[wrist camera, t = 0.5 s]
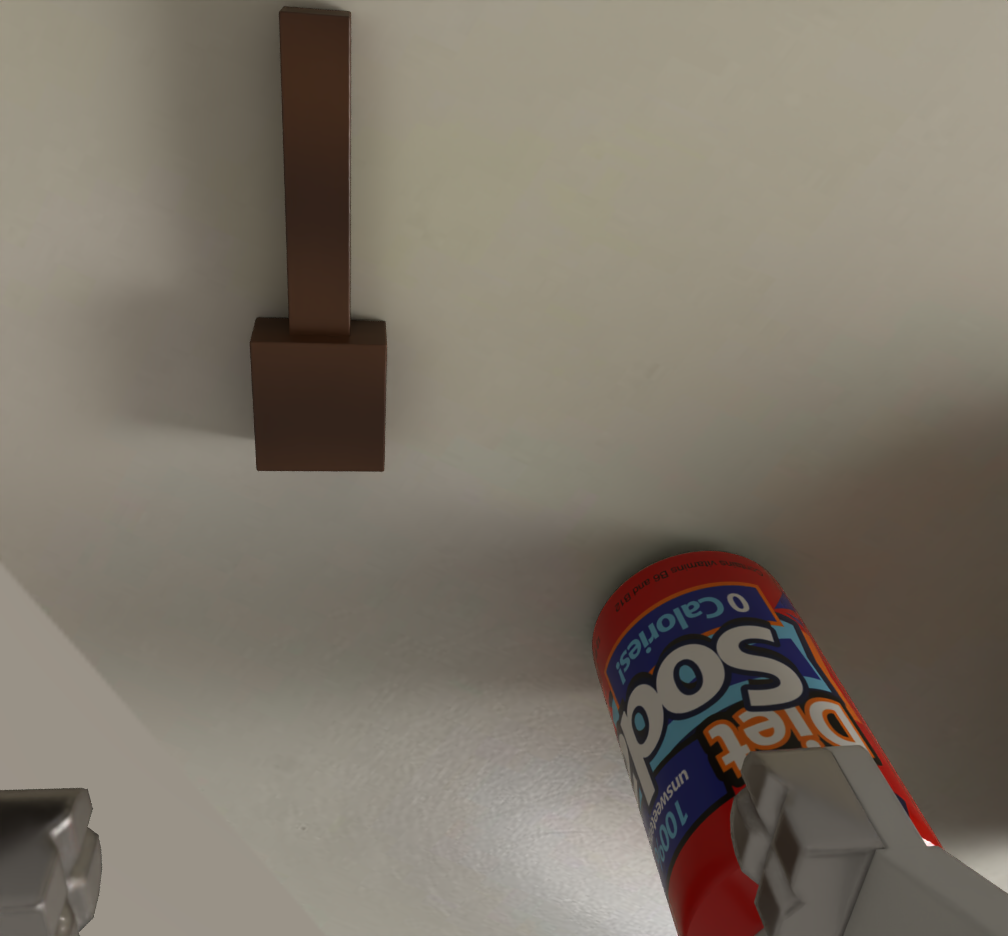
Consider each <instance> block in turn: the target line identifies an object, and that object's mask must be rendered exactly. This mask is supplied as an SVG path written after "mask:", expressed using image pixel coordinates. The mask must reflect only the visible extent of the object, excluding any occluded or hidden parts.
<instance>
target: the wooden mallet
mask: <svg viewBox="0 0 1008 936" xmlns="http://www.w3.org/2000/svg"><path fill="white" fill-rule="evenodd" d="M279 29H280V60H281V91H282V123H283V154H284V185H285V216H286V247H287V279H288V310H289V318H262V317H257V318H256V320H255V324H254V328H253V332H252V336H251V340H250V358H251V376H252V395H253V413H254V432H255V450H256V469H257V471H380V472H382V471H384V462H385V417H386V373H387V336H386V322H385V321H365V320H350V319H351V12H349V11H337V10H324V9H311V8H298V7H286V6H284V7H283V8H282V9H281V10H280V12H279Z"/></svg>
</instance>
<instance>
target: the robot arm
mask: <svg viewBox="0 0 1008 936" xmlns="http://www.w3.org/2000/svg"><path fill="white" fill-rule="evenodd" d="M740 773H741V775H742V777H743V780H744V782H745V784H746V786H745V787H744V788H743V789H742V790H741V791H740V792H739V793H738V794H737V795H735V796H734V799H733V804H732V808H731V813H730V828H731V839H732V844H733V848H734V852H735V855H736V858H737V861H738V863H739V866H740V869H741V871H742V872H743V873H744V874H745V875H747V876H748V877H749V878H750V879H752V880H753V881H754V882H755V883H756V884H758V885H759V886H758V890H757V893H756V897H755V900H754V904H755V906H756V909H757V911H758V914H759V916H760V919H761V921H762V924H763V926H764V928H765V931H766V933H767V936H1008V894H1007V893H1006V892H1005V891H1003V890H1002V889H1000V888H999V887H997V886H996V885H994V884H993V883H991V882H990V881H989V880H987V879H986V878H984V877H983V876H981V875H980V874H978V873H977V872H975V871H974V870H973V869H971V868H970V867H968V866H967V865H965V864H964V863H962V862H961V861H959V860H958V859H957V858H955V857H954V856H952V855H951V854H949V853H948V852H946V851H945V850H943V849H942V848H941V847H939V846H927V845H926V844H925V842H924V840H923V839H922V837H921V835H920V834H919V832H918V831H917V829H916V827H915V826H914V824H913V823H912V821H911V819H910V818H909V816H908V814H907V813H906V811H905V810H904V808H903V806H902V805H901V803H900V802H899V800H898V798H897V797H896V795H895V793H894V792H893V790H892V789H891V787H890V785H889V784H888V782H887V781H886V779H885V777H884V776H883V774H882V772H881V771H880V769H879V768H878V766H877V764H876V763H875V761H874V760H873V758H872V756H871V755H870V753H869V751H868V750H866V749H865V748H864V747H863V746H861V745H849V746H832V747H823V748H820V747H810V748H794V749H779V750H764V751H750V752H749V753H748V755H747V756H746V757H745V758H744V761H743V765H742V768H741V772H740ZM92 810H93V808H92V803H91V800H90V796H89V792H88V789H84V788H62V789H26V790H0V936H80V935H79V932H80V931H81V930H82V929H83V928H84V927H85V926H86V924H88V923H89V922H90V921H91V920H92V919H93V917H94V913H95V909H96V905H97V901H98V897H99V891H100V882H101V874H102V854H101V845H100V840H99V835H98V834H97V833H95V832H94V831H92V830H91V829H90V828H88V824H89V820H90V817H91V814H92Z"/></svg>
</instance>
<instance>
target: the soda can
mask: <svg viewBox="0 0 1008 936" xmlns="http://www.w3.org/2000/svg"><path fill="white" fill-rule="evenodd" d="M592 650H593V658H594V664H595V667H596V671H597V675H598V678H599V681H600V685H601V688H602V691H603V694H604V698H605V701H606V704H607V707H608V710H609V714H610V717H611V720H612V723H613V727H614V730H615V733H616V736H617V740H618V743H619V746H620V749H621V753H622V756H623V759H624V762H625V765H626V769H627V772H628V775H629V778H630V782H631V785H632V788H633V791H634V795H635V798H636V801H637V804H638V807H639V811H640V814H641V817H642V820H643V824H644V827H645V830H646V833H647V837H648V840H649V843H650V846H651V850H652V853H653V856H654V859H655V862H656V866H657V869H658V872H659V875H660V879H661V882H662V885H663V888H664V892H665V895H666V898H667V901H668V905H669V908H670V911H671V914H672V917H673V921H674V924H675V927H676V930H677V934H678V936H767V933H766V931H765V928H764V926H763V924H762V921H761V919H760V916H759V914H758V911H757V909H756V906H755V904H754V900H755V897H756V893H757V890H758V886H759V885H758V884H756V883H755V882H754V881H753V880H752V879H750V878H749V877H748V876H747V875H745V874H744V873H743V872H742V871H741V869H740V866H739V863H738V861H737V858H736V855H735V852H734V848H733V844H732V839H731V828H730V813H731V808H732V804H733V799H734V796H735V795H737V794H738V793H739V792H740V791H741V790H742V789H743V788H744V787H745V786H746V784H745V782H744V780H743V777H742V775H741V773H740V772H741V768H742V765H743V761H744V758H745V757H746V756H747V755H748V753H749V752H750V751H764V750H779V749H794V748H810V747H820V748H823V747H832V746H849V745H861V746H863V747H864V748H865V749H866V750H868V751H869V753H870V755H871V756H872V758H873V760H874V761H875V763H876V764H877V766H878V768H879V769H880V771H881V772H882V774H883V776H884V777H885V779H886V781H887V782H888V784H889V785H890V787H891V789H892V790H893V792H894V793H895V795H896V797H897V798H898V800H899V802H900V803H901V805H902V806H903V808H904V810H905V811H906V813H907V814H908V816H909V818H910V819H911V821H912V823H913V824H914V826H915V827H916V829H917V831H918V832H919V834H920V835H921V837H922V839H923V840H924V842H925V844H926V845H927V846H939V847H941V848H942V849H943V847H942V846H941V844H940V842H939V841H938V839H937V837H936V835H935V834H934V832H933V831H932V829H931V827H930V826H929V824H928V823H927V821H926V819H925V818H924V816H923V814H922V813H921V811H920V810H919V808H918V806H917V805H916V803H915V802H914V800H913V798H912V797H911V795H910V793H909V792H908V790H907V789H906V787H905V785H904V784H903V782H902V781H901V779H900V777H899V776H898V774H897V772H896V771H895V769H894V768H893V766H892V764H891V763H890V761H889V760H888V758H887V756H886V755H885V753H884V751H883V750H882V748H881V747H880V745H879V743H878V742H877V740H876V739H875V737H874V735H873V734H872V732H871V730H870V729H869V727H868V726H867V724H866V722H865V721H864V719H863V718H862V716H861V714H860V713H859V711H858V709H857V708H856V706H855V705H854V703H853V701H852V700H851V698H850V697H849V695H848V693H847V692H846V690H845V689H844V687H843V685H842V684H841V682H840V680H839V679H838V677H837V676H836V674H835V672H834V671H833V669H832V668H831V666H830V664H829V663H828V661H827V659H826V658H825V656H824V655H823V653H822V651H821V650H820V648H819V647H818V645H817V643H816V642H815V640H814V638H813V637H812V635H811V634H810V632H809V630H808V629H807V627H806V626H805V624H804V622H803V621H802V619H801V617H800V616H799V614H798V613H797V611H796V609H795V608H794V606H793V605H792V603H791V601H790V600H789V598H788V597H787V595H786V594H785V592H784V591H783V589H782V587H781V586H780V585H779V583H778V582H777V581H776V580H775V578H774V577H773V576H772V575H771V574H770V573H769V572H768V571H767V570H766V569H765V568H763V567H762V566H761V565H759V564H757V563H756V562H754V561H752V560H750V559H748V558H745V557H743V556H740V555H736V554H732V553H727V552H721V551H694V552H687V553H682V554H678V555H674V556H671V557H667V558H665V559H662V560H659V561H657V562H655V563H653V564H651V565H649V566H647V567H645V568H643V569H642V570H640V571H639V572H637V573H636V574H634V575H633V576H631V577H630V578H629V579H628V580H626V581H625V582H624V583H623V584H622V585H621V586H620V587H619V588H618V589H617V590H616V591H615V592H614V593H613V594H612V596H611V597H610V598H609V600H608V601H607V602H606V604H605V606H604V607H603V609H602V611H601V613H600V615H599V617H598V619H597V622H596V624H595V628H594V632H593V639H592ZM943 850H944V849H943Z"/></svg>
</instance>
